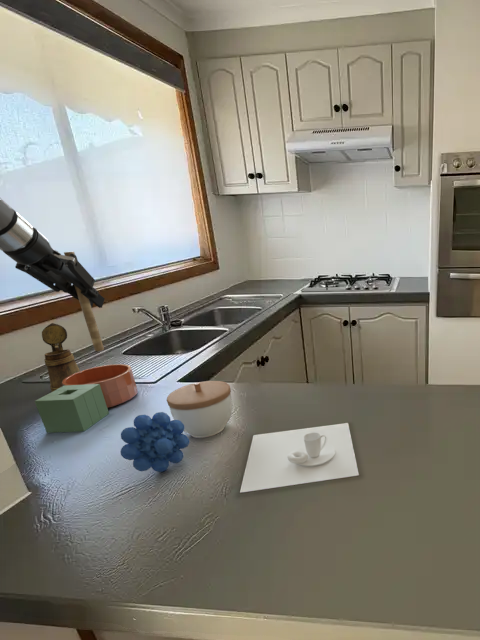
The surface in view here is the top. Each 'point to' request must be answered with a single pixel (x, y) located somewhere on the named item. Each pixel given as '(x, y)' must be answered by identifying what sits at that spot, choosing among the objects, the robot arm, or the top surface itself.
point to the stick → (89, 317)
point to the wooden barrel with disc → (58, 356)
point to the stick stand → (72, 408)
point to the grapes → (154, 442)
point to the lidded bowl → (202, 407)
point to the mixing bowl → (108, 382)
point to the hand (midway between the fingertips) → (96, 303)
